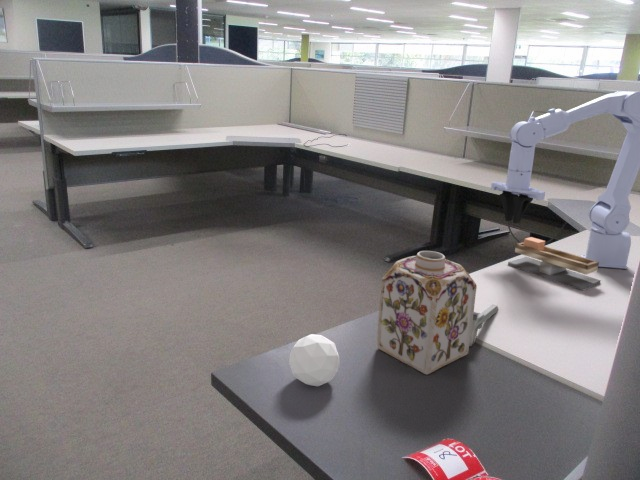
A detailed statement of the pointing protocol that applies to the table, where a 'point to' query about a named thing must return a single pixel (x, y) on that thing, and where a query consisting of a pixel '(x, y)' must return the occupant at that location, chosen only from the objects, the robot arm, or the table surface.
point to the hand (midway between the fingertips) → (512, 221)
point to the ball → (314, 360)
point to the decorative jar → (426, 311)
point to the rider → (534, 243)
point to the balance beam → (557, 266)
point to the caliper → (481, 321)
